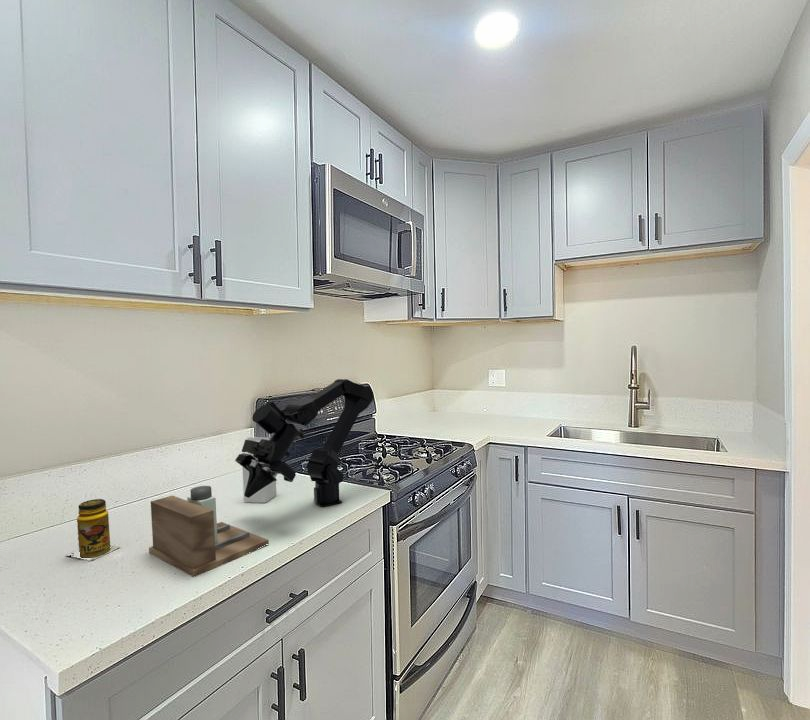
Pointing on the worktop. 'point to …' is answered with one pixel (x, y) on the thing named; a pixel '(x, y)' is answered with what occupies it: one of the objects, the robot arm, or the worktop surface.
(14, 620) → the worktop surface
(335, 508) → the worktop surface
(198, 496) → the pale green capped bottle
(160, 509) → the knob mount
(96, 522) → the condiment
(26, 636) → the worktop surface
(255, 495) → the milk carton
